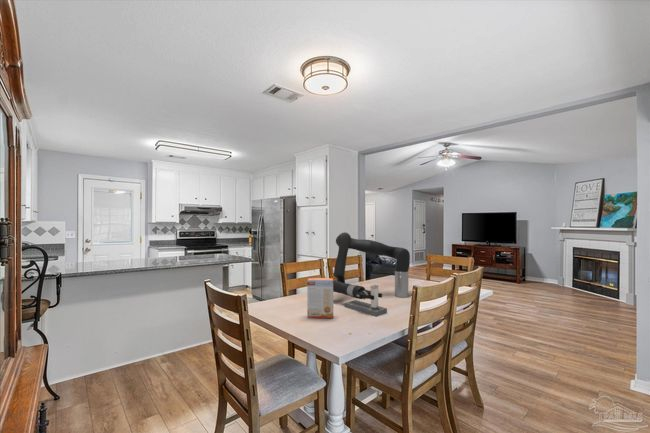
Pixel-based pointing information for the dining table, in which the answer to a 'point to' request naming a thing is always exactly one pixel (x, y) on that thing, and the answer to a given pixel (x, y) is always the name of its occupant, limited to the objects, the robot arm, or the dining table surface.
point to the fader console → (365, 308)
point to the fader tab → (375, 293)
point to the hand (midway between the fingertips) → (377, 296)
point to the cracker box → (320, 297)
